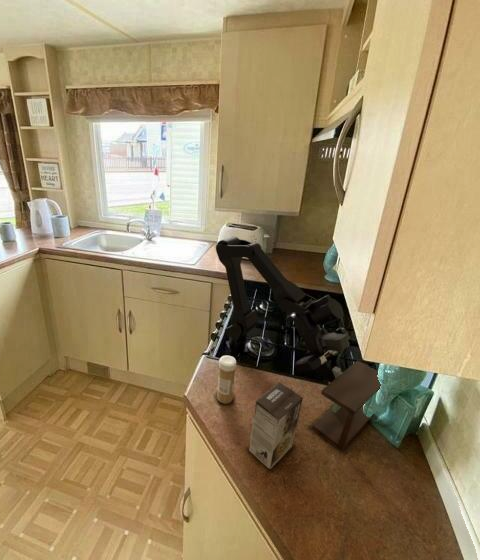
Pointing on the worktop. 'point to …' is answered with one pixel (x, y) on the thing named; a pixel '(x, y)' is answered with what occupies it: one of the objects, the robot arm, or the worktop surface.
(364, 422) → the dark brown angular piece
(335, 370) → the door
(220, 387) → the sprinkles bottle
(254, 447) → the coffee box
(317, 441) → the worktop surface
